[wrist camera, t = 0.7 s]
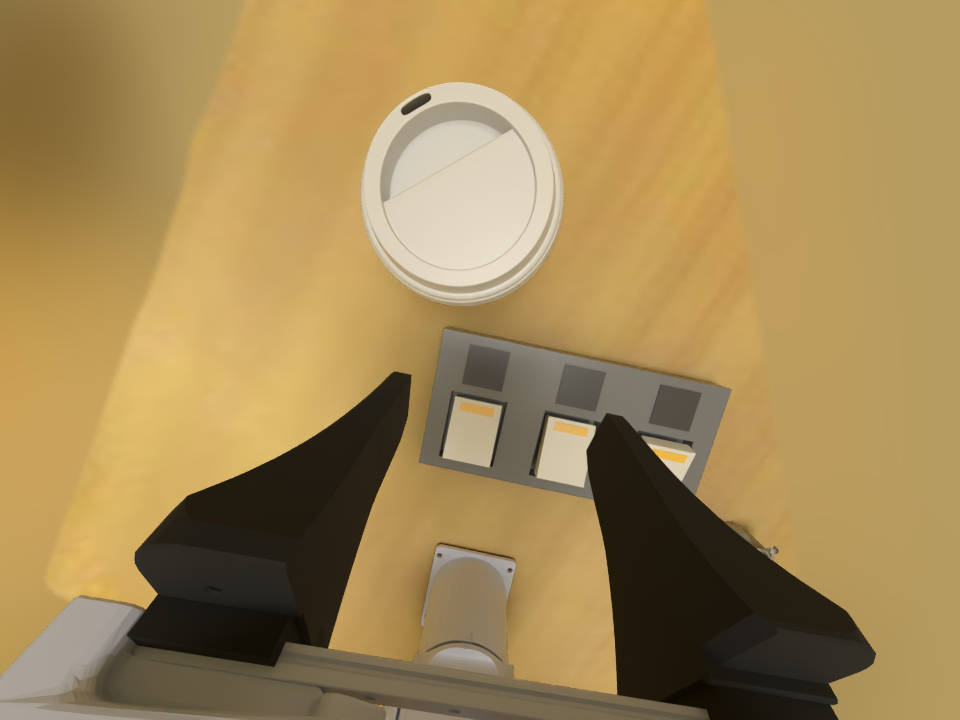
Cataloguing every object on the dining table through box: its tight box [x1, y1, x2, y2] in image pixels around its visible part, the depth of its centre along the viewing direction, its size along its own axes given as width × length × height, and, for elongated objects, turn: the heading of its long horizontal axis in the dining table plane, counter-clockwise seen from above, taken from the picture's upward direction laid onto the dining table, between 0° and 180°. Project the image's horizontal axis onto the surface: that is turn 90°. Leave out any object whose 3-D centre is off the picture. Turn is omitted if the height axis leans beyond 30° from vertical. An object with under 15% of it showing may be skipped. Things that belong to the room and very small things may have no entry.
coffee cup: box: [360, 82, 564, 306], centre depth 21 cm, size 10×10×15 cm
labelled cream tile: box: [442, 395, 502, 467], centre depth 29 cm, size 5×4×1 cm
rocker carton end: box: [641, 435, 696, 482], centre depth 29 cm, size 5×4×1 cm
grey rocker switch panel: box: [419, 327, 732, 500], centre depth 30 cm, size 12×24×2 cm, turn 78°
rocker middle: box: [534, 414, 596, 488], centre depth 29 cm, size 5×4×1 cm
